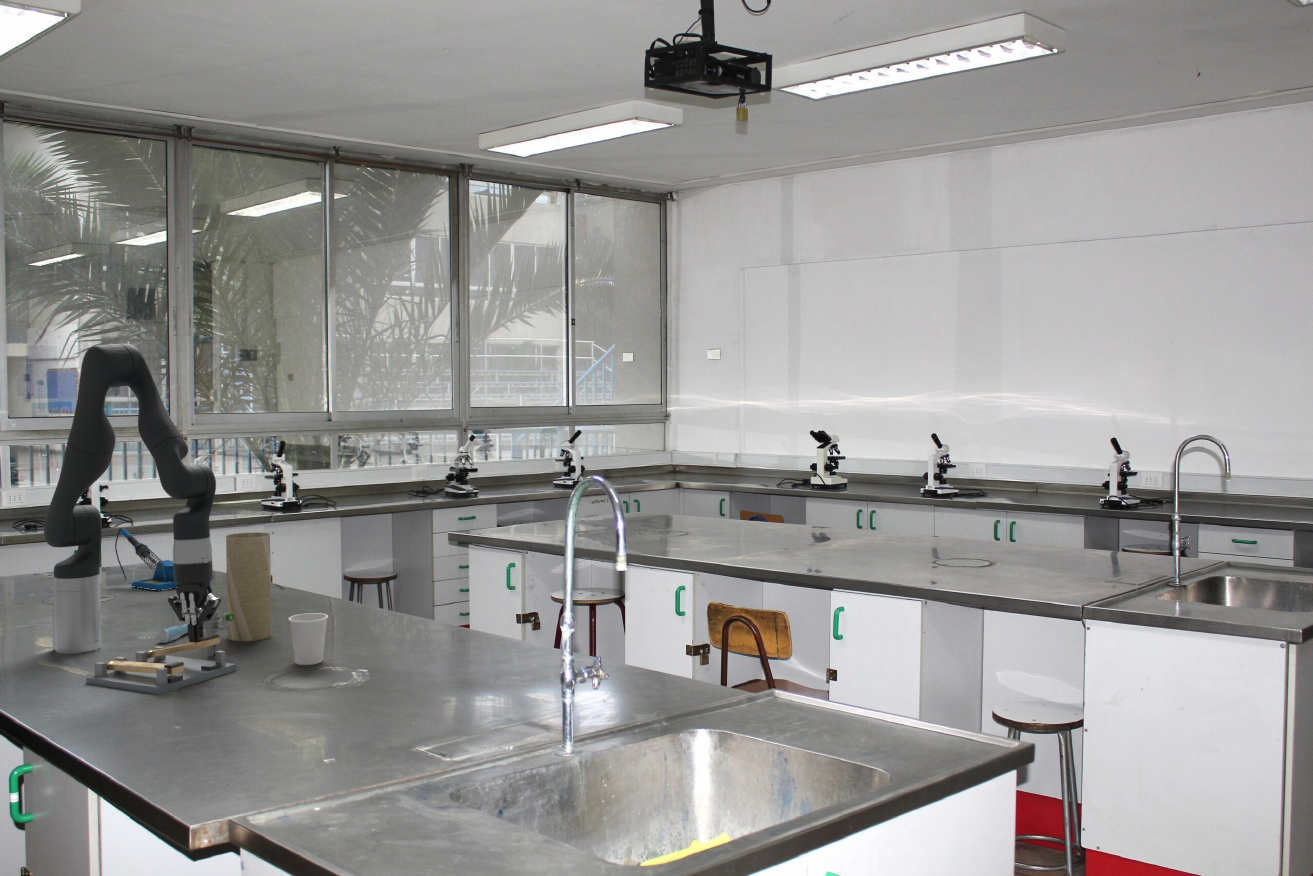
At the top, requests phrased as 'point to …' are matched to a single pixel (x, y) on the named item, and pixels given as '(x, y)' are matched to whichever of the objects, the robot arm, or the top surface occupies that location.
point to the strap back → (185, 646)
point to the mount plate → (161, 673)
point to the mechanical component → (216, 627)
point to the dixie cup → (308, 637)
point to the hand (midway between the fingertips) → (196, 641)
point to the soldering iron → (163, 570)
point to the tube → (249, 586)
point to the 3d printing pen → (172, 633)
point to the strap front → (145, 666)
